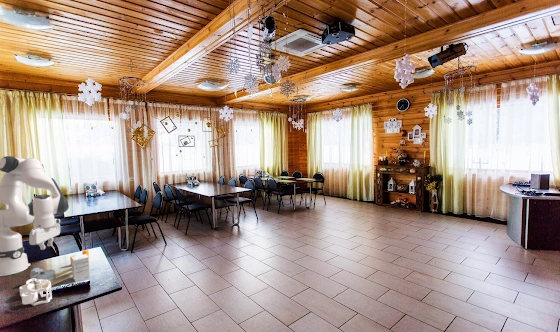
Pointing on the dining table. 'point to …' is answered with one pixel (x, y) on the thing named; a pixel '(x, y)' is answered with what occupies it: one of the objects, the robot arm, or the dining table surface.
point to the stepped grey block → (35, 272)
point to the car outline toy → (35, 292)
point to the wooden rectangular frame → (52, 277)
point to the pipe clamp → (82, 253)
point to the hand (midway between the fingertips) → (46, 247)
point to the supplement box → (80, 267)
